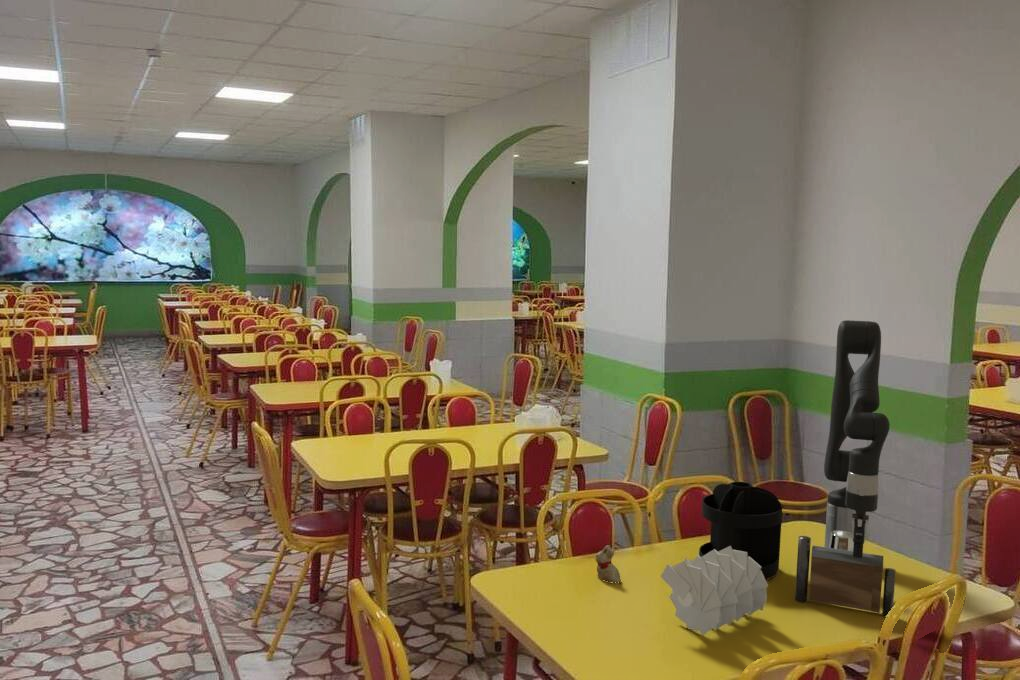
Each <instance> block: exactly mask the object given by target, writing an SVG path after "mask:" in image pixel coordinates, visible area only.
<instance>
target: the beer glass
mask: <svg viewBox="0 0 1020 680" xmlns="http://www.w3.org/2000/svg"><path fill="white" fill-rule="evenodd" d="M853 539H854V534H852V532H848V531H842V530H835V531H832V532H831V536H830V542H829V548H834V549H840V550H847V551H853V547H854V542H853Z"/></svg>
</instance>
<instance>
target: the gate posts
mask: <svg viewBox="0 0 1020 680" xmlns="http://www.w3.org/2000/svg"><path fill="white" fill-rule="evenodd" d="M797 544H798V545H797V558H796V559H797V560H796V575H795V576H796V577H795V593H794V601H795V602H798V603H800V602H801V604H803V603H804V604H805V602H806V603H808V593H809V589H808V588H809V587H808V586H809V577H810V575H809V573H810V561H811V560H810V559H811V557H810V556H811V544H812V539H811V537H810V536H807V535H799V536H798V543H797ZM896 573H897V572H896V568H895V569H894V568H892V567H886V568H885V569H884V581H883V582H884V583H883V585H884V586H883V597H882V610H881V611H882V612H881V616H882V617H885V616H886V615H887V614H888V612H889V611H890V610H891V608H892V607H893V608H894V601H895V600H894V596H895V585H896ZM885 618H886V617H885Z"/></svg>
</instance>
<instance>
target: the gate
mask: <svg viewBox="0 0 1020 680" xmlns="http://www.w3.org/2000/svg"><path fill="white" fill-rule="evenodd" d="M810 556H811V557H810V559H811V560H810V572H809V573H810V575H809V577H810V578H809V589H808V601H811V602H816V603H821V604H822V603H823V604H826V605H827V604H828V605H832V606H833V605H835V606H840V607H843V608H844V607H845V608H852V609H857V610H862V611H867V612H872V613H878V614H879V613H880V612H881V599H882V586H883V573H884V569H883V568H884V555H881V554H880V555H879V554H873V553H867V552H863V556H862V558H855V557H853V551H847V550H840V549H834V548H827V547H824V546H820V545H812V547H811V554H810Z"/></svg>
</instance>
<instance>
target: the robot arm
mask: <svg viewBox="0 0 1020 680" xmlns="http://www.w3.org/2000/svg"><path fill="white" fill-rule="evenodd" d="M839 323H840V324H839V325H838V328H837V334H836V351H835V352H836V353H835V354H836V355H835V356H836V358H835V373H834V374H835V375H834V383H833V389H832V398H831V404H830V405H831V406H830V422H829V423H830V424H829V432H828V433H829V434H828V439H827V446H826V451H825V457H824V464H823V465H824V466H823V471H824V472H823V473H824V476H825V478H826V479H827V480H828V481H833V482H841V483H846V486H844V487H841V488H839V489H836V490H832V491H830V492H828V494H827V497H826V498H827V501H826V518H825V519H826V520H825V530H824V531H825V532H824V546H823V547H827V548H829V542H830V536H831V532H832V531H835V530H842V531H848V532H852V534H854V539H853V542H854V547H853V557H855V558H862V556H863V553H864V543H865V536H867V532H868V525H869V521H870V519H869V518H870V516H869V514H867V513H868V512H869V513H873V512H876V511H877V510H878V504H879V503H878V501H879V487H880V486H879V485H880V481H879V469H880V459H881V453H882V450H883V448H884V444H885V442H886V440H887V437H888V435H889V432H890V429H891V428H890V427H891V426H890V420H889V418H888V417H887V416H886V415H885V414H884V413H882V412H876V411H878V409H879V408H880V401H881V400H880V389H879V375H880V374H879V373H880V372H879V371H880V366H881V365H880V364H881V362H880V361H881V350H882V332H881V331H882V330H881V327H880V325H879V323H878V322H876V321H869V320H850V319H849V320H842V321H841V322H839ZM849 355H866V356H867V357H866V359H865V361H864V362H863V363H862V365H860V366H859V368H857V370H856V371H854V369H853V367H852V363H850V359H849ZM847 437H848V438H849V439H852V440H860V441H861V440H862V441H871V442H870V444H869V445H868V446H863V447H857V448H856V447H855V448H852V449H851V450H843V449H842V450H840V449H841V446H842V444H843V443H844V442H845V440H846V439H847Z"/></svg>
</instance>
